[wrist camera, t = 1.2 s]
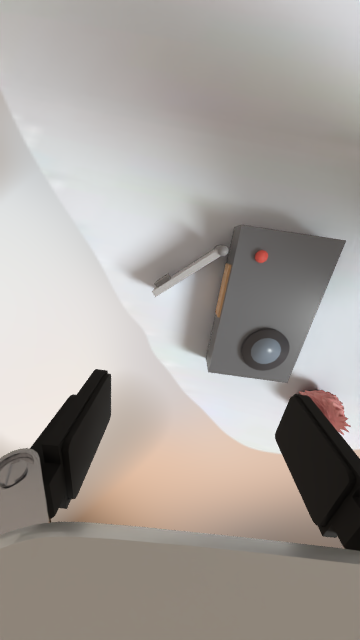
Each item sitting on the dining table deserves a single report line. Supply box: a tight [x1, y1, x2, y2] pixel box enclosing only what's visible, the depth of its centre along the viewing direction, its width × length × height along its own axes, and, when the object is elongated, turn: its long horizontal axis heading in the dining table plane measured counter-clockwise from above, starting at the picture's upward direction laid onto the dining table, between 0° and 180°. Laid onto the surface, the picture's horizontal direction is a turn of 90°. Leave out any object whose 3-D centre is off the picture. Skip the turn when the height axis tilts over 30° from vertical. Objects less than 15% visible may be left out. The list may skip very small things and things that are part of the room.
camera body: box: [206, 225, 346, 383], centre depth 27 cm, size 12×20×4 cm, turn 172°
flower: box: [299, 390, 351, 435], centre depth 33 cm, size 8×8×6 cm
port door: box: [152, 245, 228, 297], centre depth 26 cm, size 2×11×4 cm, turn 122°
